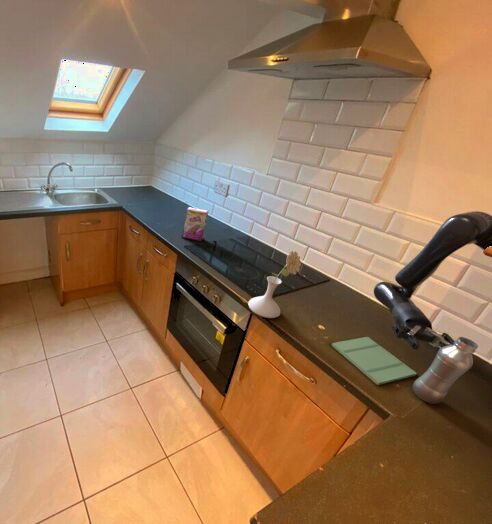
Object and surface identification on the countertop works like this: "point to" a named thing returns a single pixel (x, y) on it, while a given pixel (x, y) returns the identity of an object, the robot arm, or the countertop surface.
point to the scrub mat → (373, 360)
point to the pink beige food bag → (195, 223)
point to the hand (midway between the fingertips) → (435, 352)
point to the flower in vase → (265, 303)
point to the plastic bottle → (445, 370)
